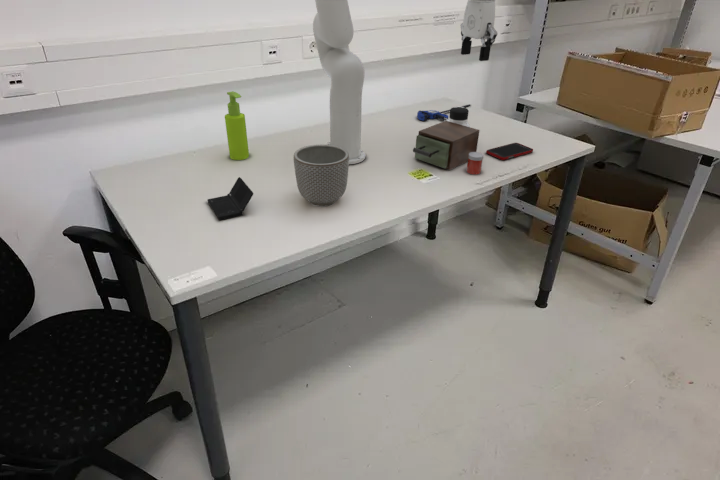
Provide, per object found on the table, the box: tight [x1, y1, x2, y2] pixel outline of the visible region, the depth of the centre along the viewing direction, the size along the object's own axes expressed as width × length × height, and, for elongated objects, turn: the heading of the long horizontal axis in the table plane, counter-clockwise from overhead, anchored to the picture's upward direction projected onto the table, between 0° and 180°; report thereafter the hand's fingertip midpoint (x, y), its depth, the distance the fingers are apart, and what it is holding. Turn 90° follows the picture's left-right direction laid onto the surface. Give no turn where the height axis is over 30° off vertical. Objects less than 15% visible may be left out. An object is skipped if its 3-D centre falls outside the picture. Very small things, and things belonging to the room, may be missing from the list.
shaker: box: [465, 151, 484, 175], centre depth 145 cm, size 4×4×6 cm
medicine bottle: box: [445, 106, 471, 127], centre depth 164 cm, size 7×7×12 cm
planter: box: [293, 143, 350, 207], centre depth 125 cm, size 14×14×13 cm
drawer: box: [412, 134, 451, 169], centre depth 150 cm, size 18×11×7 cm, turn 137°
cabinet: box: [417, 120, 481, 171], centre depth 153 cm, size 15×13×9 cm
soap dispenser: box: [224, 91, 250, 161], centre depth 148 cm, size 6×7×20 cm
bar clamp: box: [416, 104, 472, 122], centre depth 195 cm, size 32×2×10 cm
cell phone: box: [485, 142, 534, 161], centre depth 160 cm, size 8×15×1 cm, turn 123°
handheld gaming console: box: [207, 176, 254, 221], centre depth 123 cm, size 12×7×10 cm
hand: (474, 57), depth 151 cm, fingers open, 9 cm apart
